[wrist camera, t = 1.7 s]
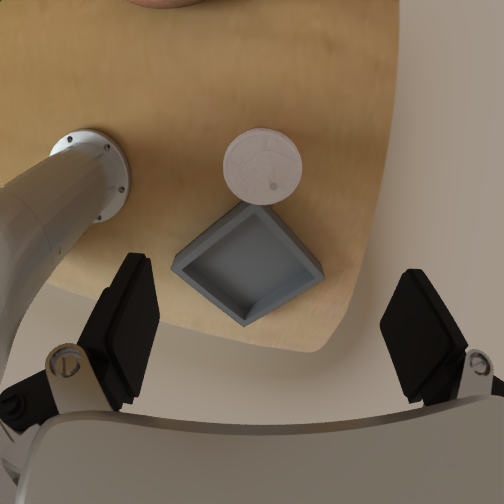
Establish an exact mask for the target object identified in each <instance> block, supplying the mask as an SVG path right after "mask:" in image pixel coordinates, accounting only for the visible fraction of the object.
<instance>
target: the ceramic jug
mask: <svg viewBox="0 0 504 504" xmlns="http://www.w3.org/2000/svg"><path fill="white" fill-rule="evenodd" d="M128 1H129V2H131V3H134V4H136V5H139V6H143V7H147V8H155V9H170V8H179V7H185V6H189V5H192V4H196V3H199V2H202V1H204V0H128Z"/></svg>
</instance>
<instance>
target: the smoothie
mask: <svg viewBox="0 0 504 504" xmlns="http://www.w3.org/2000/svg"><path fill="white" fill-rule="evenodd" d="M223 174H224V178H225V181H226V183H227V185H228V187H229V189H230V190H231V191H232V192H233V193H234V194H235V195H236V196H237V197H238V198H240V199H242V200H243V201H245V202H248V203H251V204H256V205H269V204H274V203H277V202H279V201H282V200H283V199H285V198H286V197H288V196H289V195H290V194H291V193H292V192H293V191H294V190H295V189H296V187H297V186H298V184H299V182H300V179H301V175H302V160H301V156H300V153H299V151H298V149H297V147H296V145H295V144H294V143H293V142H292V141H291V140H290V139H289V138H288V137H287V136H285V135H284V134H282V133H281V132H278V131H275V130H272V129H266V128H262V127H257V128H253V129H251V130H249V131H247V132H245V133H243V134H241V135H239V136H238V137H237V138H236V139H234V140H233V141H232V142H231V144H230V145H229V147H228V148H227V150H226V152H225V156H224V159H223Z"/></svg>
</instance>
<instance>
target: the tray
mask: <svg viewBox="0 0 504 504" xmlns="http://www.w3.org/2000/svg"><path fill="white" fill-rule="evenodd" d="M171 270H172V271H173V272H174V273H176V274H177V275H178V276H179V277H181V278H182V279H183V280H184V281H185V282H187V283H188V284H189V285H190V286H192V287H193V288H194V289H195V290H197V291H198V292H199V293H200V294H202V295H203V296H204V297H205V298H207V299H208V300H209V301H210V302H212V303H213V304H214V305H216V306H217V307H218V308H219V309H221V310H222V311H223V312H225V313H226V314H227V315H228V316H230V317H231V318H232V319H234V320H235V321H236V322H238V323H239V324H240V325H242V326H243V327H245V326H247V325H249V324H251V323H252V322H254V321H256V320H257V319H259V318H261V317H263V316H264V315H266V314H268V313H269V312H271V311H273V310H275V309H276V308H278V307H280V306H281V305H283V304H285V303H286V302H288V301H290V300H291V299H293V298H295V297H296V296H298V295H300V294H301V293H303V292H304V291H306V290H308V289H309V288H311V287H312V286H314V285H316V284H317V283H319V282H320V281H322V280H324V279H325V275H324V272H323V269H322V266H321V264H320V263H319V262H318V260H317V259H316V258H315V257H314V256H313V255H312V254H311V252H310V251H309V250H308V249H307V248H306V247H305V246H304V244H303V243H302V242H301V241H300V240H299V239H298V238H297V236H296V235H295V234H294V233H293V232H292V231H291V230H290V229H289V227H288V226H287V225H286V224H285V223H284V222H283V221H282V220H281V218H280V217H279V216H278V215H277V214H276V213H275V212H274V211H273V210H272V209H271V207H270V206H269V205H256V204H251V203H248V202H245V201H243V200H242V201H241V202H240V203H239V204H237V205H236V206H235V207H234V208H232V209H231V210H230V211H229V212H227V213H226V214H225V215H224V216H222V217H221V218H220V219H219V220H218V221H216V222H215V223H214V224H213V225H211V226H210V227H209V228H208V229H207V230H205V231H204V232H203V233H202V234H201V235H199V236H198V237H197V238H196V239H195V240H193V241H192V242H191V243H190V244H189V245H187V246H186V247H185V248H184V249H183V250H181V251H180V252H179V253H178V254H177V255H176V256H175V258H174V261H173V263H172V266H171Z"/></svg>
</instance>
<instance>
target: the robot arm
mask: <svg viewBox="0 0 504 504" xmlns="http://www.w3.org/2000/svg"><path fill="white" fill-rule="evenodd" d="M109 145H110V147H109ZM130 183H131V179H130V170H129V165H128V162H127V160H126V157H125V155H124V153H123V151H122V150H121V148H120V147H119V146H118V144H117V143H116V142H115V141H114V140H113V139H112V138H110V137H109V136H108V135H106V134H104V133H102V132H100V131H98V130H93V129H79V130H75V131H72V132H70V133H68V134H66V135H65V136H63V137H62V138H61V139H60V140H59V141H58V142H57V143H56V144H55V145H54V147H53V149H52V151H51V153H50V156H49V157H48V158H46V159H45V160H43V161H41V162H40V163H38V164H36V165H35V166H33V167H31V168H30V169H28V170H26V171H25V172H23V173H22V174H20V175H19V176H17V177H15V178H14V179H12V180H11V181H9V182H8V183H7V184H5V185H4V186H2V187H1V188H0V383H1V381H2V378H3V375H4V371H5V369H6V365H7V361H8V358H9V354H10V351H11V347H12V344H13V341H14V338H15V335H16V333H17V330H18V327H19V325H20V323H21V321H22V319H23V317H24V315H25V313H26V311H27V309H28V308H29V306H30V304H31V303H32V301H33V300H34V298H35V296H36V295H37V293H38V292H39V290H40V289H41V287H42V286H43V284H44V283H45V282H46V280H47V279H48V278H49V276H50V275H51V274H52V272H53V271H54V270H55V268H56V267H57V266H58V264H59V263H60V262H61V261H62V259H63V258H64V257H65V255H66V254H67V253H68V252H69V250H70V249H71V248H72V247H73V245H74V244H75V243H76V242H77V241H78V239H79V238H80V237H81V236H82V235H83V233H84V232H85V231H86V230H87V229H88V227H89V226H90V225H91V224H93V223H101V222H104V221H107V220H109V219H110V218H112V217H113V216H115V215H116V214H117V213H118V212H119V210H120V209H121V208H122V207H123V205H124V203H125V202H126V200H127V197H128V194H129V191H130ZM123 187H124V188H123ZM159 319H160V312H159V307H158V302H157V296H156V290H155V285H154V278H153V272H152V266H151V260H150V258H146V256H145V254H143V253H128V254H127V256H126V258H125V260H124V261H123V263H122V265H121V267H120V268H119V270H118V272H117V274H116V276H115V278H114V279H113V281H112V283H111V285H110V287H107V288H105V289H104V290H103V292H102V294H101V296H100V298H99V300H98V301H97V303H96V305H95V307H94V309H93V311H92V313H91V315H90V317H89V319H88V321H87V324H86V325H85V327H84V330H83V332H82V334H81V336H80V338H79V340H78V342H77V344H73V343H65V344H62V345H59V346H57V347H56V348H54V349H53V350H52V351H51V352H50V353H49V355H48V356H47V358H46V362H45V370H42V371H41V372H38V373H36V374H34V375H32V376H31V377H28V378H27V379H24V380H23V381H21V382H18V383H16V384H14V385H12V386H11V387H8V388H7V389H5V390H4V391H3V392H2V393H1V394H0V504H504V382H503V381H502V380H500V379H499V378H497V377H496V376H494V375H493V365H492V362H491V360H490V359H489V357H488V356H487V355H486V354H485V353H484V352H482V351H480V350H476V349H472V350H470V351H469V352H468V353H467V354H466V352H465V349H466V348H467V347H468V344H467V342H466V340H465V338H464V336H463V334H462V333H461V331H460V329H459V327H458V326H457V324H456V322H455V321H454V319H453V317H452V316H451V314H450V312H449V310H448V309H447V307H446V305H445V304H444V302H443V301H442V299H441V297H440V296H439V294H438V293H437V291H436V290H435V288H434V287H433V285H432V284H431V282H430V281H429V279H428V278H427V276H426V275H425V273H424V272H423V271H422V270H421V269H407V270H406V272H404V273H403V274H402V276H401V278H400V280H399V283H398V285H397V287H396V289H395V291H394V294H393V296H392V298H391V300H390V302H389V304H388V306H387V309H386V311H385V313H384V315H383V317H382V319H381V321H380V330H381V333H382V335H383V338H384V340H385V343H386V346H387V348H388V351H389V353H390V356H391V359H392V362H393V364H394V367H395V370H396V373H397V376H398V379H399V382H400V385H401V388H402V390H403V393H404V395H405V396H406V397H407V398H408V401H409V404H411V403H415V402H420V401H421V400H422V399H423V402H424V404H423V407H422V408H418V409H413V410H408V411H404V412H398V413H393V414H387V415H382V416H375V417H369V418H362V419H354V420H346V421H336V422H325V423H312V424H292V425H291V424H290V425H240V424H219V423H206V422H195V421H184V420H175V419H167V418H158V417H152V416H146V415H138V414H130V413H123V412H120V411H119V410H120V409H121V408H122V405H123V403H127V404H132V403H133V400H134V397H138V396H139V394H140V390H141V386H142V382H143V378H144V374H145V371H146V367H147V363H148V359H149V356H150V351H151V348H152V345H153V341H154V337H155V334H156V331H157V327H158V324H159Z"/></svg>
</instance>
